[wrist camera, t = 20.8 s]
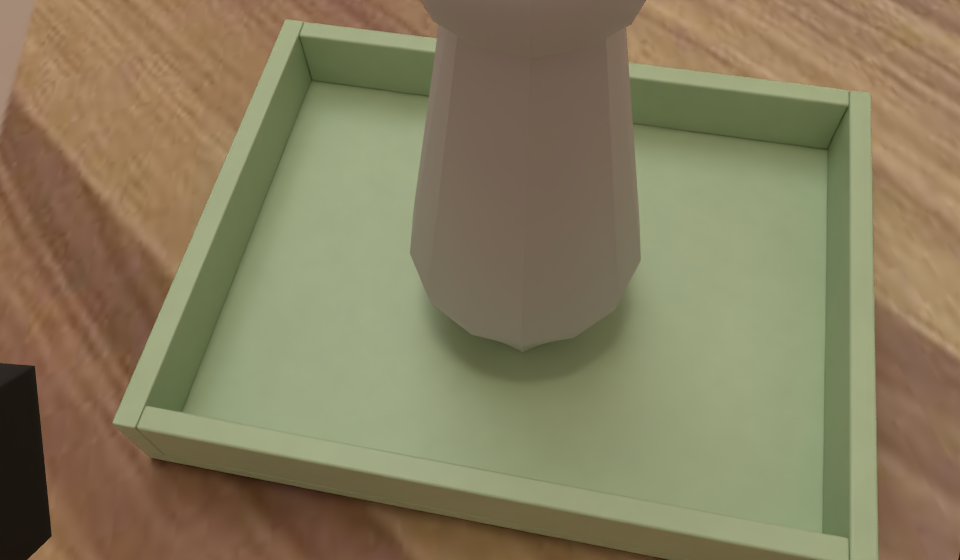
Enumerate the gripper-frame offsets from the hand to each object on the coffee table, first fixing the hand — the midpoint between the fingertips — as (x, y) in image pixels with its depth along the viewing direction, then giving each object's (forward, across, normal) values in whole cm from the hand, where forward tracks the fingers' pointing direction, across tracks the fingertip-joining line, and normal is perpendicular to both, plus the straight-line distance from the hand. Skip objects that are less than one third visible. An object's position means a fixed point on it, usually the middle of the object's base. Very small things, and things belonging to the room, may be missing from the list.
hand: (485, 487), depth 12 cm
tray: (+13, 0, -1) cm, 13 cm away
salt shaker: (+12, 0, 0) cm, 12 cm away
